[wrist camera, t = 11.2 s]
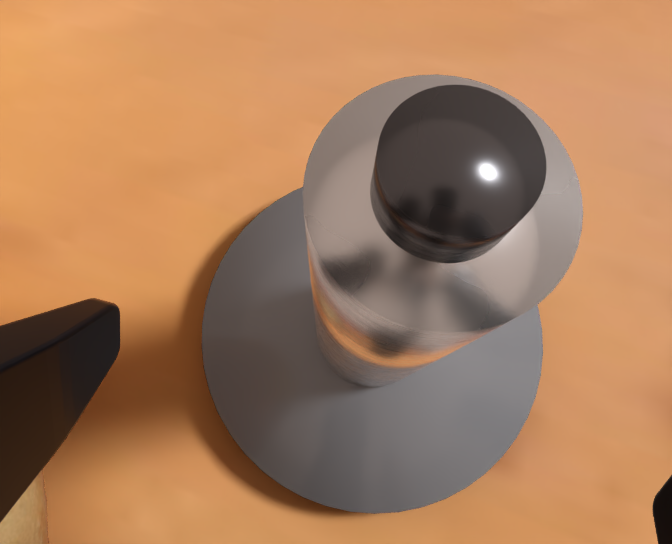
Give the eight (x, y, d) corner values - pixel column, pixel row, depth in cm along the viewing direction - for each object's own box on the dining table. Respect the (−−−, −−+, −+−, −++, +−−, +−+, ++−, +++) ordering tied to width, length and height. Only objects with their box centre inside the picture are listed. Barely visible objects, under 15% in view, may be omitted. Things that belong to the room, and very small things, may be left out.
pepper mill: (322, 393, 20) (317, 336, 6) (310, 282, 21) (285, 36, 8) (437, 379, 20) (666, 296, 7) (418, 270, 22) (577, 12, 8)
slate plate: (216, 530, 20) (210, 537, 18) (201, 201, 24) (194, 189, 22) (566, 484, 20) (580, 487, 19) (494, 172, 24) (503, 159, 23)
